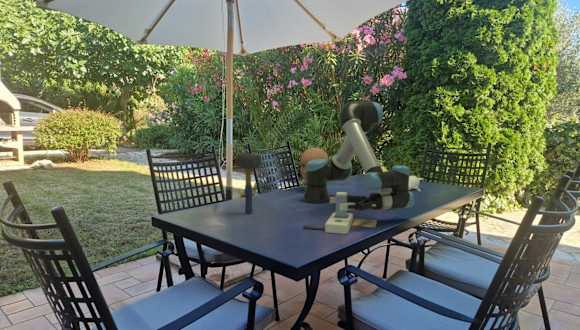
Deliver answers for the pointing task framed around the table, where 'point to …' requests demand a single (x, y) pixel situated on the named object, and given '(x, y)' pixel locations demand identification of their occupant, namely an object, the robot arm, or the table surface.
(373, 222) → the coaster
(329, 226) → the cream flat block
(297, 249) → the table surface
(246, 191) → the rubber mallet
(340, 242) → the table surface
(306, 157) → the mannequin head
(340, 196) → the pale grey tall block
